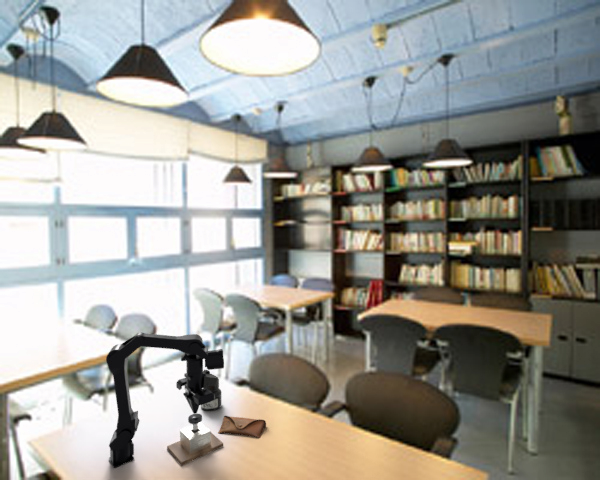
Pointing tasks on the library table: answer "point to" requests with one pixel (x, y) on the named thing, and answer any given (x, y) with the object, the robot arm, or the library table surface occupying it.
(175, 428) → the library table surface
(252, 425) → the sunglasses case
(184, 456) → the walnut board
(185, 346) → the robot arm
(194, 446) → the block
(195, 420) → the plunger
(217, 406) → the ink bottle
